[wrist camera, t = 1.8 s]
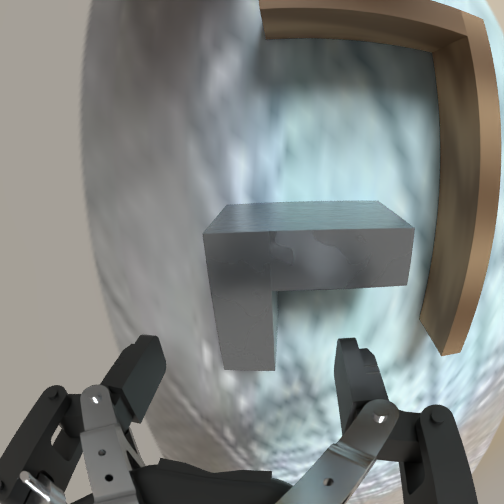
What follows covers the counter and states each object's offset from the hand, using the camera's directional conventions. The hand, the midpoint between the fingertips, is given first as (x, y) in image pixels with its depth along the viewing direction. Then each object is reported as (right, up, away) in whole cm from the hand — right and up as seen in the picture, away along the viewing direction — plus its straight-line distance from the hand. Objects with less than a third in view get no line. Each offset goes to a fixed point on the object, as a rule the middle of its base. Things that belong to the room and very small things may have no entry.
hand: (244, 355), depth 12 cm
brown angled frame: (+7, +8, +2) cm, 11 cm away
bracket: (+3, +4, +4) cm, 7 cm away
